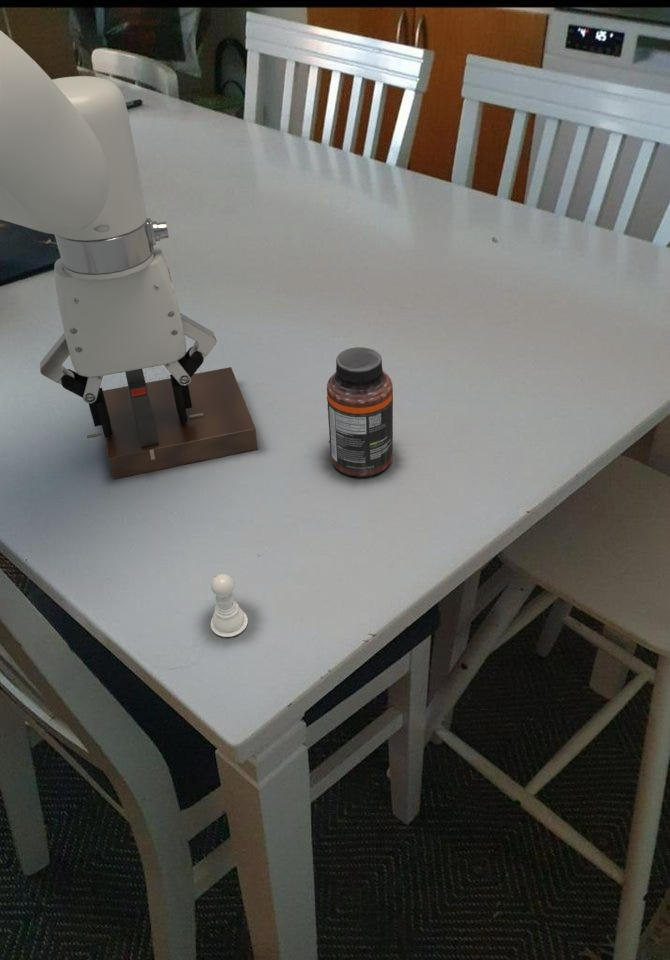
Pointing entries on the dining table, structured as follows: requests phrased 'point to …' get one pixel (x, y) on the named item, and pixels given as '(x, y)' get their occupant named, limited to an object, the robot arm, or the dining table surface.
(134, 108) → the dining table surface
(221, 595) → the chess pawn
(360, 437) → the supplement bottle
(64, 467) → the dining table surface
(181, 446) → the panel
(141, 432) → the dark battery block
